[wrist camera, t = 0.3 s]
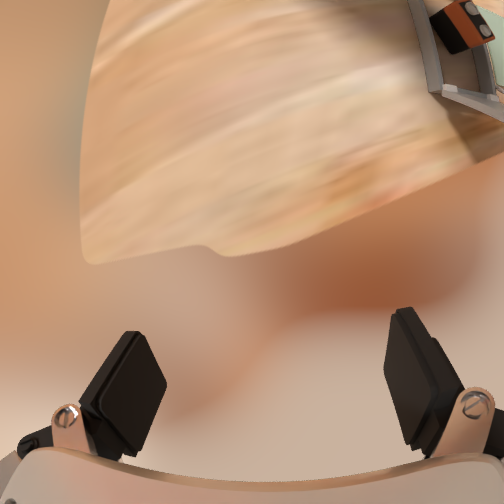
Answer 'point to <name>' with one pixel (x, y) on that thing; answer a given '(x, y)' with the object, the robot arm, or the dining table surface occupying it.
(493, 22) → the rubber mat
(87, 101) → the dining table surface
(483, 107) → the case lid
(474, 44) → the battery
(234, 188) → the dining table surface
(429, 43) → the case
